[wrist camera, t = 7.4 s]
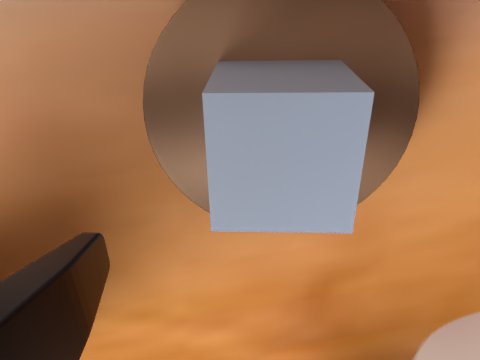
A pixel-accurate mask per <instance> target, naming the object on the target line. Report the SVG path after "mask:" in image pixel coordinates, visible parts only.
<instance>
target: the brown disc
mask: <svg viewBox="0 0 480 360" xmlns="http://www.w3.org/2000/svg"><path fill="white" fill-rule="evenodd" d="M275 60H341V61H342V62H343V63H344V64H345V65H347V66H348V67H349V68H350V69H351V70H352V71H353V72H354V73H355V74H356V75H357V76H358V77H359V78H360V79H361V80H362V81H363V82H364V83H365V84H366V85H367V86H368V87H369V88H370V89H372V90H373V91H374V99H373V105H372V112H371V118H370V124H369V131H368V137H367V143H366V150H365V156H364V163H363V169H362V175H361V182H360V188H359V194H358V201H357V204H359V203H360V202H362V201H363V200H365V199H366V198H367V197H368V196H369V195H371V194H372V193H373V192H374V191H375V190H376V189H377V188H378V187H379V186H380V185H381V184H382V183H383V182H384V181H385V180H386V179H387V177H388V176H389V175H390V174H391V172H392V171H393V170H394V168H395V167H396V166H397V164H398V162H399V160H400V159H401V157H402V155H403V154H404V152H405V150H406V148H407V145H408V143H409V141H410V138H411V136H412V133H413V129H414V126H415V122H416V119H417V112H418V105H419V76H418V69H417V63H416V59H415V56H414V53H413V49H412V46H411V44H410V41H409V39H408V37H407V35H406V33H405V31H404V28H403V27H402V25H401V24H400V22H399V21H398V19H397V18H396V16H395V15H394V13H393V12H392V11H391V10H390V9H389V8H388V6H387V5H386V4H385V3H384V2H383V1H382V0H187V1H186V2H185V3H184V5H183V6H182V7H181V8H180V9H179V10H178V11H177V12H176V13H175V14H174V15H173V17H172V18H171V20H170V21H169V23H168V24H167V25H166V27H165V28H164V30H163V31H162V33H161V35H160V37H159V39H158V41H157V43H156V45H155V47H154V49H153V51H152V54H151V57H150V60H149V63H148V66H147V71H146V76H145V81H144V91H143V110H144V121H145V125H146V130H147V134H148V138H149V141H150V143H151V146H152V149H153V152H154V154H155V156H156V158H157V160H158V161H159V163H160V165H161V167H162V168H163V170H164V171H165V173H166V174H167V176H168V177H169V179H170V180H171V181H172V182H173V183H174V184H175V186H176V187H177V188H178V189H179V190H180V191H181V192H182V193H183V194H184V195H185V196H187V197H188V198H189V199H190V200H191V201H192V202H194V203H195V204H197V205H198V206H200V207H201V208H202V209H204V210H206V211H208V212H209V213H210V206H209V191H208V176H207V160H206V145H205V130H204V115H203V100H202V92H203V90H204V88H205V86H206V84H207V82H208V80H209V79H210V77H211V75H212V73H213V71H214V69H215V67H216V65H217V63H218V61H275Z"/></svg>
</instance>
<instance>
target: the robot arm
mask: <svg viewBox="0 0 480 360" xmlns="http://www.w3.org/2000/svg"><path fill="white" fill-rule="evenodd" d="M109 268H110V261H109V257H108V253H107V248H106V244H105V240H104V237H103V235H102V234H101V233H93V232H84V233H81V234H79V235H78V236H76V237H74V238H73V239H71V240H69V241H68V242H66V243H64V244H63V245H61V246H59V247H58V248H56V249H54V250H52V251H51V252H49V253H47V254H46V255H44V256H42V257H41V258H39V259H37V260H36V261H34V262H32V263H31V264H29V265H27V266H25V267H24V268H22V269H20V270H19V271H17V272H15V273H14V274H12V275H10V276H9V277H7V278H5V279H4V280H2V281H0V360H79V359H80V357H81V354H82V352H83V350H84V347H85V345H86V342H87V340H88V337H89V335H90V332H91V329H92V326H93V323H94V320H95V316H96V313H97V310H98V306H99V303H100V300H101V296H102V293H103V290H104V286H105V283H106V280H107V276H108V273H109Z"/></svg>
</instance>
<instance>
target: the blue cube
mask: <svg viewBox="0 0 480 360" xmlns="http://www.w3.org/2000/svg"><path fill="white" fill-rule="evenodd" d="M373 99H374V91H373V90H372V89H370V88H369V87H368V86H367V85H366V84H365V83H364V82H363V81H362V80H361V79H360V78H359V77H358V76H357V75H356V74H355V73H354V72H353V71H352V70H351V69H350V68H349V67H348V66H347V65H345V64H344V63H343V62H342V61H341V60H275V61H218V63H217V65H216V67H215V69H214V71H213V73H212V75H211V77H210V79H209V80H208V82H207V84H206V86H205V88H204V90H203V92H202V100H203V115H204V130H205V145H206V160H207V176H208V191H209V206H210V221H211V231H217V232H292V233H353V226H354V220H355V214H356V207H357V201H358V194H359V188H360V182H361V175H362V169H363V163H364V156H365V150H366V143H367V137H368V131H369V124H370V118H371V112H372V105H373Z"/></svg>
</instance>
